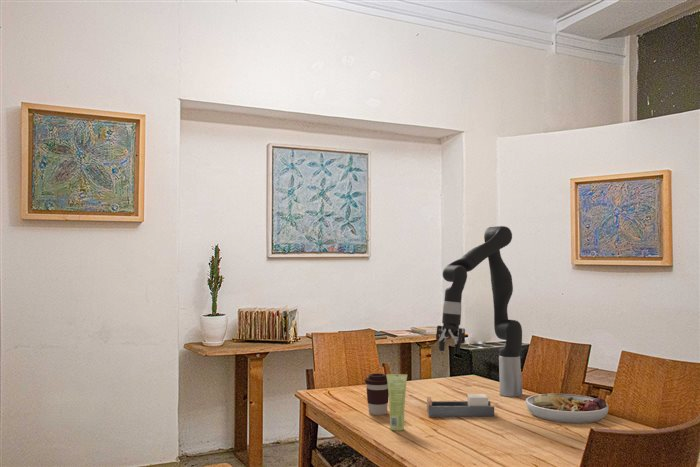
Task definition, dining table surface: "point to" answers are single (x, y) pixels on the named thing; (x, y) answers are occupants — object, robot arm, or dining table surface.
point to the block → (477, 400)
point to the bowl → (567, 407)
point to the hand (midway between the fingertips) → (449, 352)
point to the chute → (457, 409)
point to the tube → (396, 400)
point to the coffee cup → (377, 393)
